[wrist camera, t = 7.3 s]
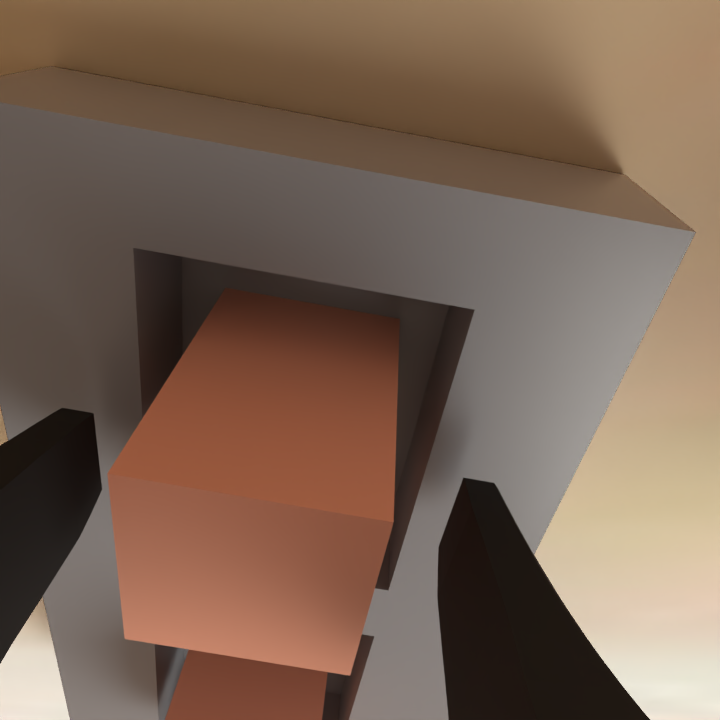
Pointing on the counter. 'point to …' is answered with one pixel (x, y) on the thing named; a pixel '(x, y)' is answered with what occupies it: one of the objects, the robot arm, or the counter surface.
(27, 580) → the robot arm
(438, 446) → the dock
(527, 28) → the counter surface
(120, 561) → the plug
